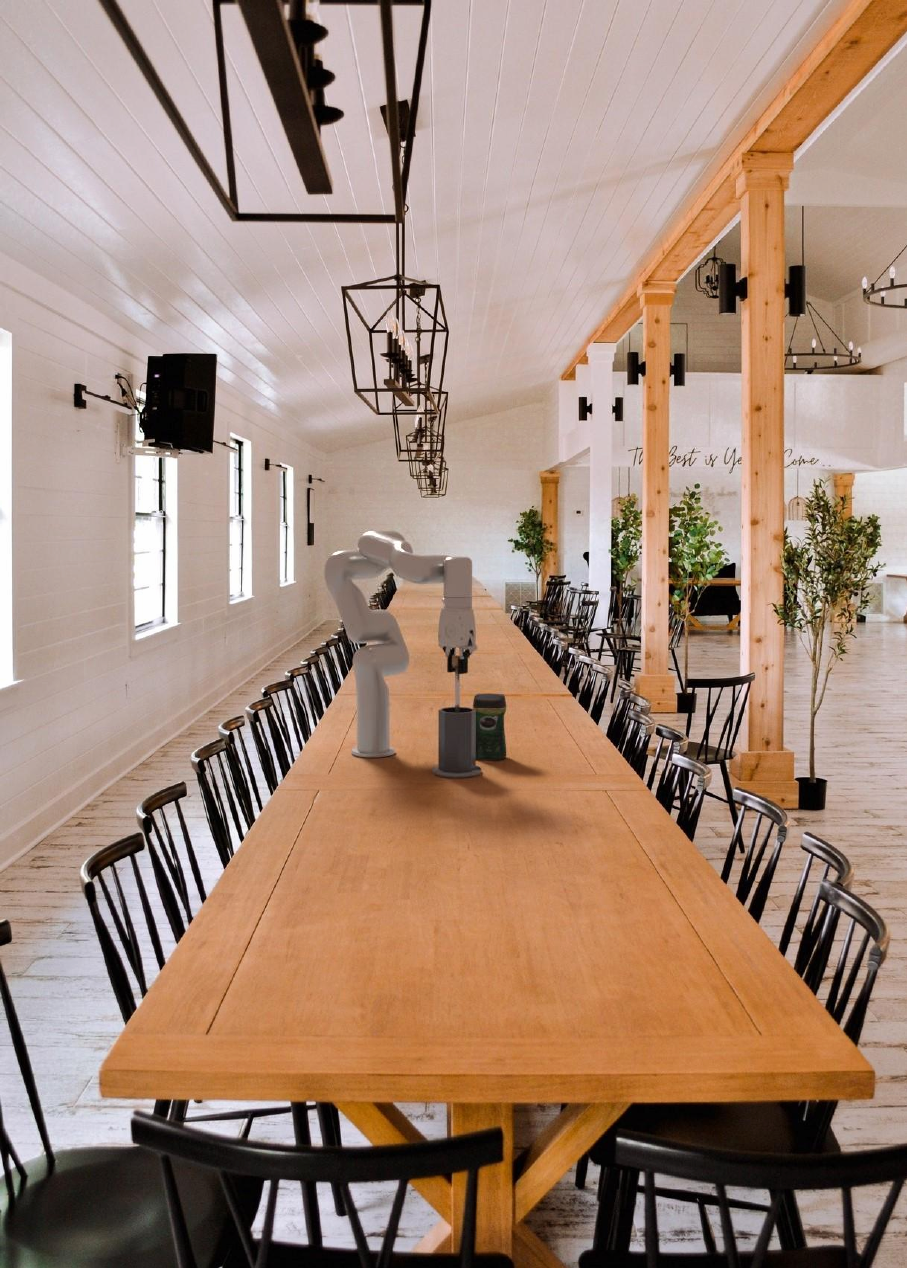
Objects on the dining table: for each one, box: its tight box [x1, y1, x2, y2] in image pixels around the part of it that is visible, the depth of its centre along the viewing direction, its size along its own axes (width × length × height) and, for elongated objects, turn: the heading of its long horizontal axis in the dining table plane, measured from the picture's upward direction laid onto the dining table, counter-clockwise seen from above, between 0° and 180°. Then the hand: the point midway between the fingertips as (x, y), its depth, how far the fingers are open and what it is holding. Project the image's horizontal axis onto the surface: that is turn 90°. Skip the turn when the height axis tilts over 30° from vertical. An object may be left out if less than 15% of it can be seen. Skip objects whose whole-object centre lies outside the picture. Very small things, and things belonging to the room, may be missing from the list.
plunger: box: [451, 654, 461, 713], centre depth 276 cm, size 7×7×22 cm
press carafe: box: [432, 706, 482, 779], centre depth 278 cm, size 14×13×17 cm
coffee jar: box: [472, 692, 507, 761], centre depth 295 cm, size 10×8×19 cm
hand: (457, 672), depth 276 cm, fingers closed on plunger, 3 cm apart
